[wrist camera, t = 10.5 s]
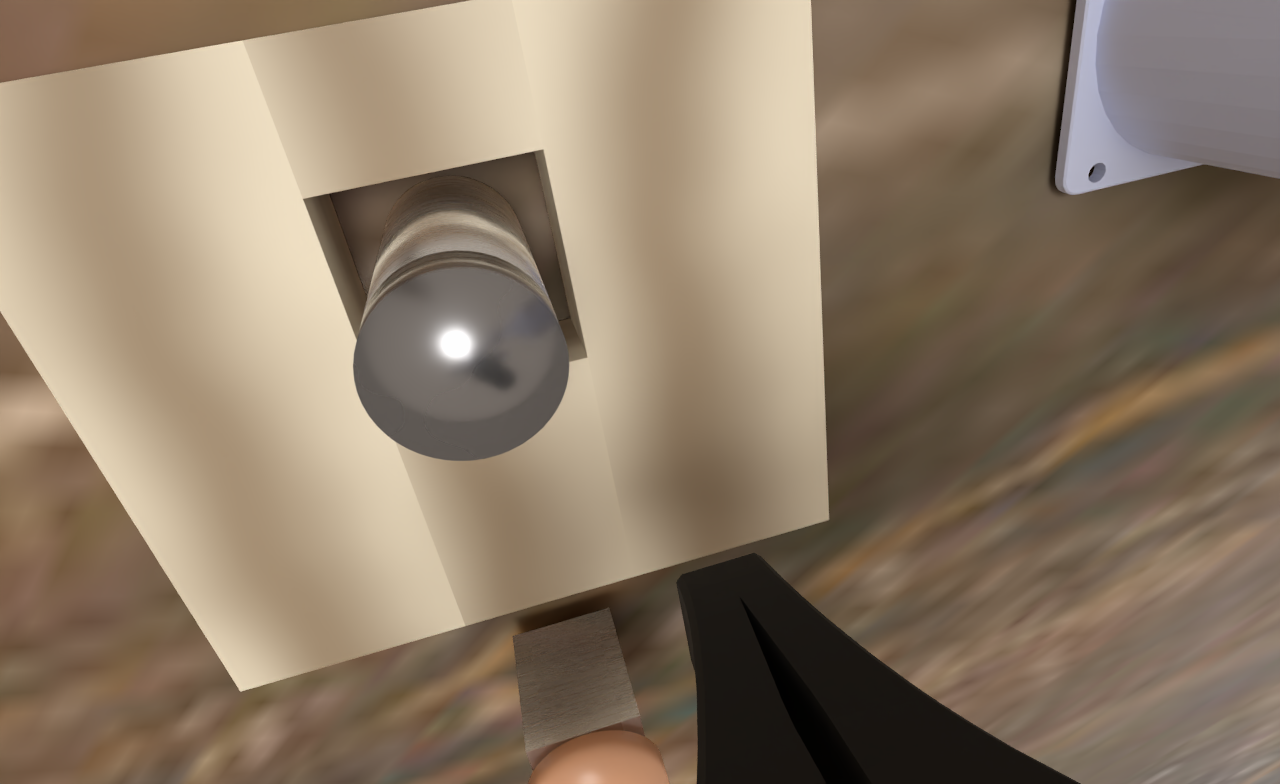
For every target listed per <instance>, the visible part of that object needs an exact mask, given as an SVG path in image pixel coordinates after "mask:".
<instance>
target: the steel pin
mask: <svg viewBox="0 0 1280 784" xmlns="http://www.w3.org/2000/svg"><path fill="white" fill-rule="evenodd" d="M353 374H354V382H355V386H356V390H357V393H358V396H359V398H360V401H361V403H362V405H363V407H364V409H365V410H366V412H367V414H368V415H369V417H370V418H371V419H372V420H373V422H374V423H375V424H376V425H377V426H378V427H379V428H380V429H381V430H382V431H383V432H384V433H385V434H386V435H387V436H388V437H390V438H391V439H392V440H394V441H395V442H397V443H398V444H400V445H402V446H404V447H405V448H407V449H409V450H411V451H414V452H416V453H419V454H421V455H425V456H428V457H431V458H436V459H442V460H450V461H473V460H479V459H486V458H490V457H493V456H497V455H500V454H503V453H505V452H508V451H510V450H512V449H514V448H516V447H518V446H520V445H522V444H523V443H525V442H526V441H528V440H529V439H530V438H532V437H533V436H534V435H535V434H537V433H538V432H539V431H540V430H541V429H542V428H543V427H544V426H545V425H546V424H547V423H548V421H549V420H550V419H551V418H552V416H553V415H554V413H555V412H556V410H557V409H558V407H559V405H560V403H561V401H562V399H563V396H564V393H565V390H566V387H567V382H568V377H569V353H568V348H567V344H566V340H565V337H564V334H563V332H562V329H561V327H560V324H559V322H558V319H557V317H556V314H555V312H554V309H553V306H552V304H551V301H550V299H549V296H548V294H547V291H546V289H545V286H544V284H543V281H542V279H541V276H540V274H539V271H538V268H537V266H536V263H535V261H534V258H533V256H532V253H531V251H530V248H529V246H528V243H527V241H526V238H525V235H524V233H523V230H522V228H521V225H520V223H519V220H518V218H517V216H516V214H515V212H514V210H513V209H512V208H511V206H510V205H509V203H508V202H507V201H506V200H505V199H504V198H503V197H502V196H501V195H500V194H499V193H497V192H496V191H495V190H494V189H492V188H490V187H489V186H487V185H485V184H483V183H481V182H479V181H476V180H473V179H470V178H466V177H460V176H440V177H435V178H431V179H428V180H425V181H422V182H420V183H418V184H416V185H414V186H413V187H411V188H410V189H409V190H407V191H406V192H405V193H404V194H403V195H402V196H401V197H400V198H399V199H398V200H397V201H396V203H395V204H394V205H393V207H392V209H391V211H390V213H389V215H388V218H387V220H386V224H385V228H384V232H383V236H382V240H381V244H380V248H379V252H378V256H377V260H376V264H375V268H374V272H373V277H372V281H371V285H370V289H369V293H368V297H367V301H366V305H365V309H364V313H363V317H362V321H361V326H360V330H359V334H358V338H357V342H356V346H355V351H354V358H353Z"/></svg>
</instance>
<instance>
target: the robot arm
mask: <svg viewBox="0 0 1280 784" xmlns="http://www.w3.org/2000/svg"><path fill="white" fill-rule="evenodd" d="M1203 164H1206V165H1211V166H1216V167H1221V168H1227V169H1232V170H1237V171H1242V172H1248V173H1253V174H1258V175H1263V176H1269V177H1274V178H1279V179H1280V0H1077V2H1076V10H1075V19H1074V27H1073V35H1072V43H1071V51H1070V60H1069V68H1068V76H1067V84H1066V92H1065V101H1064V109H1063V117H1062V125H1061V133H1060V141H1059V150H1058V158H1057V166H1056V174H1055V185H1056V187H1057V189H1058V190H1059V191H1061V192H1063V193H1067V194H1070V195H1077V194H1082V193H1086V192H1090V191H1094V190H1098V189H1103V188H1107V187H1111V186H1115V185H1119V184H1124V183H1128V182H1132V181H1136V180H1140V179H1145V178H1149V177H1153V176H1157V175H1161V174H1165V173H1170V172H1174V171H1178V170H1182V169H1186V168H1191V167H1195V166H1199V165H1203ZM1093 166H1094V171H1093V173H1092V175H1091V176H1090V177H1089V176H1088V174H1089V172H1090V169H1091V168H1092V167H1093ZM676 583H677V588H678V593H679V599H680V604H681V609H682V614H683V620H684V625H685V630H686V635H687V640H688V646H689V651H690V656H691V661H692V664H693V667H694V670H695V675H696V687H697V725H698V762H697V784H1080V783H1078V782H1076V781H1075V780H1073V779H1071V778H1069V777H1067V776H1065V775H1063V774H1061V773H1059V772H1058V771H1056V770H1054V769H1052V768H1050V767H1048V766H1046V765H1044V764H1043V763H1041V762H1039V761H1037V760H1035V759H1033V758H1031V757H1029V756H1028V755H1026V754H1024V753H1022V752H1020V751H1018V750H1016V749H1014V748H1013V747H1011V746H1009V745H1007V744H1006V743H1004V742H1002V741H1001V740H999V739H997V738H996V737H994V736H992V735H991V734H989V733H987V732H986V731H984V730H982V729H981V728H979V727H977V726H976V725H974V724H972V723H971V722H969V721H967V720H966V719H964V718H963V717H961V716H960V715H958V714H956V713H955V712H953V711H952V710H950V709H949V708H947V707H945V706H944V705H942V704H941V703H939V702H938V701H936V700H935V699H933V698H932V697H930V696H929V695H927V694H926V693H924V692H923V691H921V690H920V689H919V688H917V687H916V686H914V685H913V684H911V683H910V682H909V681H907V680H906V679H904V678H903V677H902V676H900V675H899V674H898V673H896V672H895V671H894V670H892V669H891V668H889V667H888V666H887V665H885V664H884V663H883V662H881V661H880V660H879V659H877V658H876V657H875V656H873V655H872V654H871V653H869V652H868V651H867V650H866V649H864V648H863V647H862V646H860V645H859V644H858V643H857V642H856V641H854V640H853V639H852V638H851V637H849V636H848V635H847V634H846V633H845V632H843V631H842V630H841V629H840V628H838V627H837V626H836V625H835V624H834V623H832V622H831V621H830V620H829V619H827V618H826V617H825V616H824V615H823V614H822V613H821V612H819V611H818V610H817V609H816V608H815V607H814V606H812V605H811V604H810V603H809V602H808V601H807V600H806V599H805V598H804V597H802V596H801V595H800V594H799V593H798V592H797V591H796V590H795V589H794V588H793V587H792V586H790V585H789V584H788V583H787V582H786V581H785V580H784V579H783V578H782V577H781V576H780V575H779V574H778V573H777V572H776V571H775V570H774V569H773V568H772V567H771V566H770V565H769V564H768V563H767V562H766V561H765V560H764V559H763V558H762V557H761V556H759V555H757V554H755V553H752V554H749V555H746V556H742V557H739V558H736V559H732V560H729V561H726V562H722V563H719V564H716V565H712V566H709V567H706V568H702V569H699V570H696V571H692V572H689V573H686V574H682V575H681V577H680V578H679V579H678V580H677V582H676Z"/></svg>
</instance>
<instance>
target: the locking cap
mask: <svg viewBox="0 0 1280 784" xmlns="http://www.w3.org/2000/svg"><path fill="white" fill-rule="evenodd" d="M528 784H670V783H669V780H668V776H667V773H666V770H665V766H664V763H663V760H662V756H661V753H660V751H659V749H658V748H657V746H656V745H655V744H654V743H653V742H652V741H650V740H649V739H648V738H646V737H644V736H642V735H639V734H637V733H633V732H629V731H620V730H609V731H600V732H594V733H590V734H586V735H583V736H580V737H577V738H575V739H572V740H570V741H568V742H566V743H564V744H562V745H561V746H559V747H557V748H556V749H554V750H553V751H552V752H550V753H549V754H548V755H547V756H546V757H544V758H543V759H542V761H541V762H540V763H539V764H538V765H537V766H536V768H535V769H534V771H533V773H532V774H531V776H530V779H529V782H528Z"/></svg>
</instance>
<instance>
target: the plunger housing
mask: <svg viewBox="0 0 1280 784" xmlns="http://www.w3.org/2000/svg"><path fill="white" fill-rule="evenodd" d="M513 643H514V651H515V660H516V669H517V678H518V686H519V695H520V704H521V713H522V721H523V730H524V739H525V748H526V754H527V756H528V759H529V762H530V764H531V767H532V770H533V771H534V769H535V768H536V766H537V765H538V764H539V763H540V762H541V761H542V759H543V758H544V757H546V756H547V755H548V754H549V753H550V752H552V751H553V750H554V749H556V748H557V747H559V746H561V745H562V744H564V743H566V742H568V741H570V740H572V739H575V738H577V737H580V736H583V735H586V734H590V733H594V732H600V731H609V730H620V731H629V732H633V733H637V734H639V735H642V736H644V737H645V735H644V731H643V727H642V722H641V718H640V714H639V711H638V707H637V704H636V700H635V697H634V693H633V690H632V686H631V683H630V679H629V676H628V672H627V668H626V665H625V661H624V658H623V654H622V651H621V647H620V644H619V640H618V637H617V633H616V630H615V626H614V623H613V619H612V616H611V612H610V609H609V608H606V609H603V610H600V611H596V612H593V613H589V614H586V615H583V616H579V617H576V618H573V619H569V620H566V621H562V622H559V623H556V624H552V625H549V626H545V627H542V628H539V629H535V630H532V631H529V632H525V633H522V634H518V635H515V636H513Z"/></svg>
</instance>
